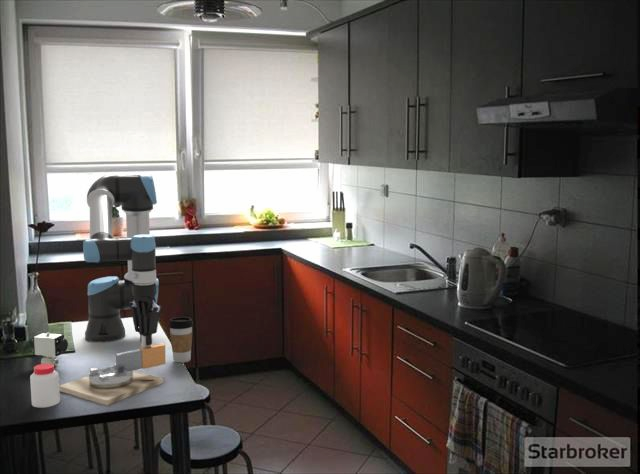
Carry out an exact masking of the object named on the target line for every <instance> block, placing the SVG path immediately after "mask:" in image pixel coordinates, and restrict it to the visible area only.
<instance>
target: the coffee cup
mask: <svg viewBox="0 0 640 474" xmlns="http://www.w3.org/2000/svg"><path fill="white" fill-rule="evenodd" d="M193 327H194V322H193V319H192V318H191V317H188V316H179V317H173V318H170V319H169V323H168V328H169V331H170V332H169V338H170V343H171V351H172V358H173V359H172V360H174V361H175V362H174V361H173V362H174V363H177V362H182V363H187V362H190V361H191V356H192V355H191V354H192V342H193Z"/></svg>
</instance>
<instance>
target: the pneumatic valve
mask: <svg viewBox="0 0 640 474" xmlns="http://www.w3.org/2000/svg"><path fill="white" fill-rule="evenodd" d="M68 346H69V342H68V340H67V339H66V338H65V334H60V333H59V334H58V333H50V331H49V332H46V333H43V332H41V333H38V334H36V335H33V336H32V338H31V339H30V340H29V349H30V350H32V352H33V356H42V358H41V359H40V360H41V361H40V364H47V363H49V364H53V365H54V367H58V364H59V359H58V357H59V356H60V355H63V354H64V353H66V352H67V349H68Z"/></svg>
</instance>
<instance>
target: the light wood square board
mask: <svg viewBox="0 0 640 474" xmlns="http://www.w3.org/2000/svg"><path fill="white" fill-rule="evenodd" d="M163 383H164V379H163V377H159V376H155V375H151V374H147V373H142V372H141V371H136V370H133V381H132V382H131V383H129V384H127V385H125V386H122V387H117V388H110V389H100V388H94V387H92V386H90V384H89V375H86V376H84V377H83V376H82V377H81V378H78V379H75V380H72V381H69V382H65V383H64V384H59V388H60V392H62V393H65V394H69V395H72V396H75V397H78V398H81V399H84V400H88V401H91V402H94V403H97V404H101V405H104V406H109V405H112V404H114V403H117V402H119V401H122V400H124V399H127V398H128V397H132V396H135V395H137V394H139V393H141V392H144V391H146V390H149V389H151V388H154V387H156V386H159V385H161V384H163Z"/></svg>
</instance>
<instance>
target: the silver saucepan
mask: <svg viewBox="0 0 640 474" xmlns="http://www.w3.org/2000/svg"><path fill="white" fill-rule="evenodd" d="M166 361H167V360H166V344H164V343H159V344H155V345H151V346H148V347H143V348H142V347H138V349H134V350H128V351H123V352H119V353H115V363H113V366H107V367H103V368H98V367H93V368H89V375H88V376H89V384H90V386H92V387H94V388H100V389H110V388H117V387H122V386H125V385H127V384H129V383H131V382H132V381H133V371H136V370H141V369H142V370H145V369H149V368H154V367H158V366H163V365H166Z"/></svg>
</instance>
